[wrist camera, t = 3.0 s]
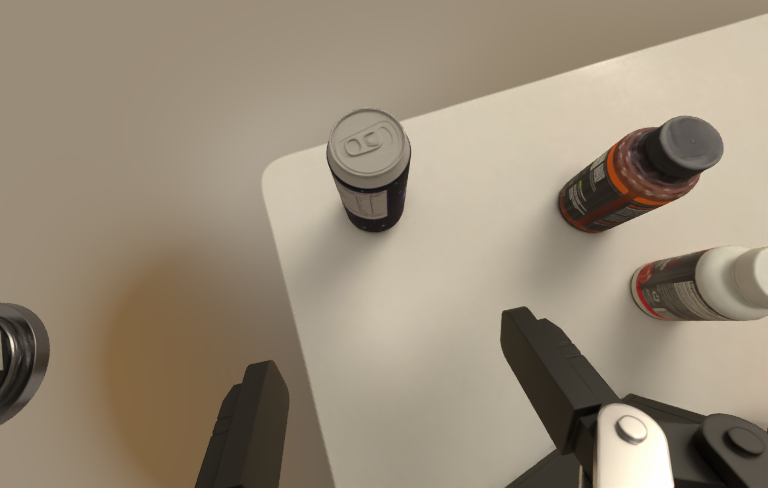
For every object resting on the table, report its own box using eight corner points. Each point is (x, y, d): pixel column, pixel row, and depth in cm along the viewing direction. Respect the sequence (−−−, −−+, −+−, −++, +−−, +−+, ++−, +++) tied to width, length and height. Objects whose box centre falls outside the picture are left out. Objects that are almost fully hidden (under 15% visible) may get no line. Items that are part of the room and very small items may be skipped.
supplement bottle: (629, 218, 31) (763, 161, 20) (578, 244, 30) (687, 200, 19) (594, 168, 32) (701, 89, 21) (544, 192, 32) (628, 123, 21)
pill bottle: (659, 251, 30) (784, 220, 21) (700, 300, 29) (853, 290, 19) (616, 281, 29) (725, 262, 20) (656, 332, 28) (793, 337, 19)
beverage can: (411, 223, 31) (426, 164, 19) (357, 242, 31) (338, 194, 19) (391, 174, 32) (393, 91, 21) (339, 192, 32) (311, 117, 20)
